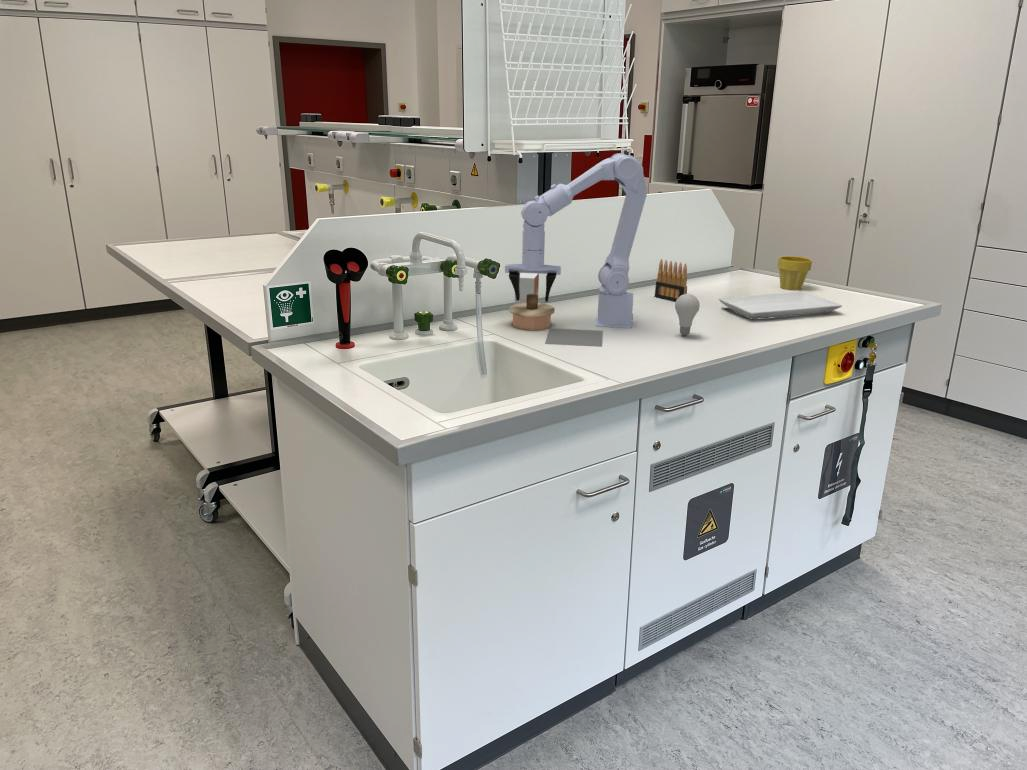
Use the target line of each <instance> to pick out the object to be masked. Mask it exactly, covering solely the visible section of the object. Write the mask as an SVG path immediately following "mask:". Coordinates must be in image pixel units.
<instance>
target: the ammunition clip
mask: <svg viewBox="0 0 1027 770" xmlns="http://www.w3.org/2000/svg"><path fill="white" fill-rule="evenodd" d="M657 270H658V271H657V277H656V279H657V280H656V282H655V289H654V298H655V297H656V299H659V298H660V300H664V301H669V302H673V303H676V300H677V299H678V298H679V297H680V296H681V295H683V294H688V285H687V281H688V277H687V276H688V267H687V263H684V265H683V264H682V262H679V264H678V263H677V261H675V262H674V264H673V261H672V260H670V261H669V263H668V259H665V260H664V261H663V259H662V258H661V259H660V260H659V264H658V269H657Z"/></svg>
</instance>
